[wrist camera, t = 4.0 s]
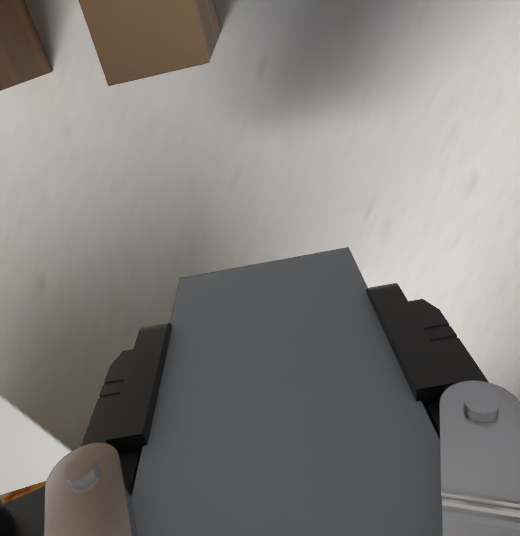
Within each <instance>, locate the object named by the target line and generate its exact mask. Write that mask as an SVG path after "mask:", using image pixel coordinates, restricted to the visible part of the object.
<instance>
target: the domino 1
mask: <svg viewBox="0 0 520 536" xmlns="http://www.w3.org/2000/svg"><path fill="white" fill-rule="evenodd" d="M79 2H80V5H81V8H82V11H83V14H84V17H85V20H86V23H87V25H88V28H89V31H90V34H91V37H92V40H93V43H94V46H95V49H96V51H97V54H98V57H99V60H100V63H101V66H102V69H103V72H104V74H105V77H106V80H107V83H108V86H111V85H115V84H120V83H124V82H128V81H133V80H137V79H141V78H146V77H150V76H154V75H159V74H163V73H167V72H171V71H176V70H180V69H184V68H189V67H193V66H197V65H202V64H206V63H209V61H210V58H211V56H212V53H213V51H214V48H215V46H216V43H217V40H218V38H219V35H220V33H221V31H220V26H219V22H218V17H217V13H216V8H215V3H214V0H79Z"/></svg>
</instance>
